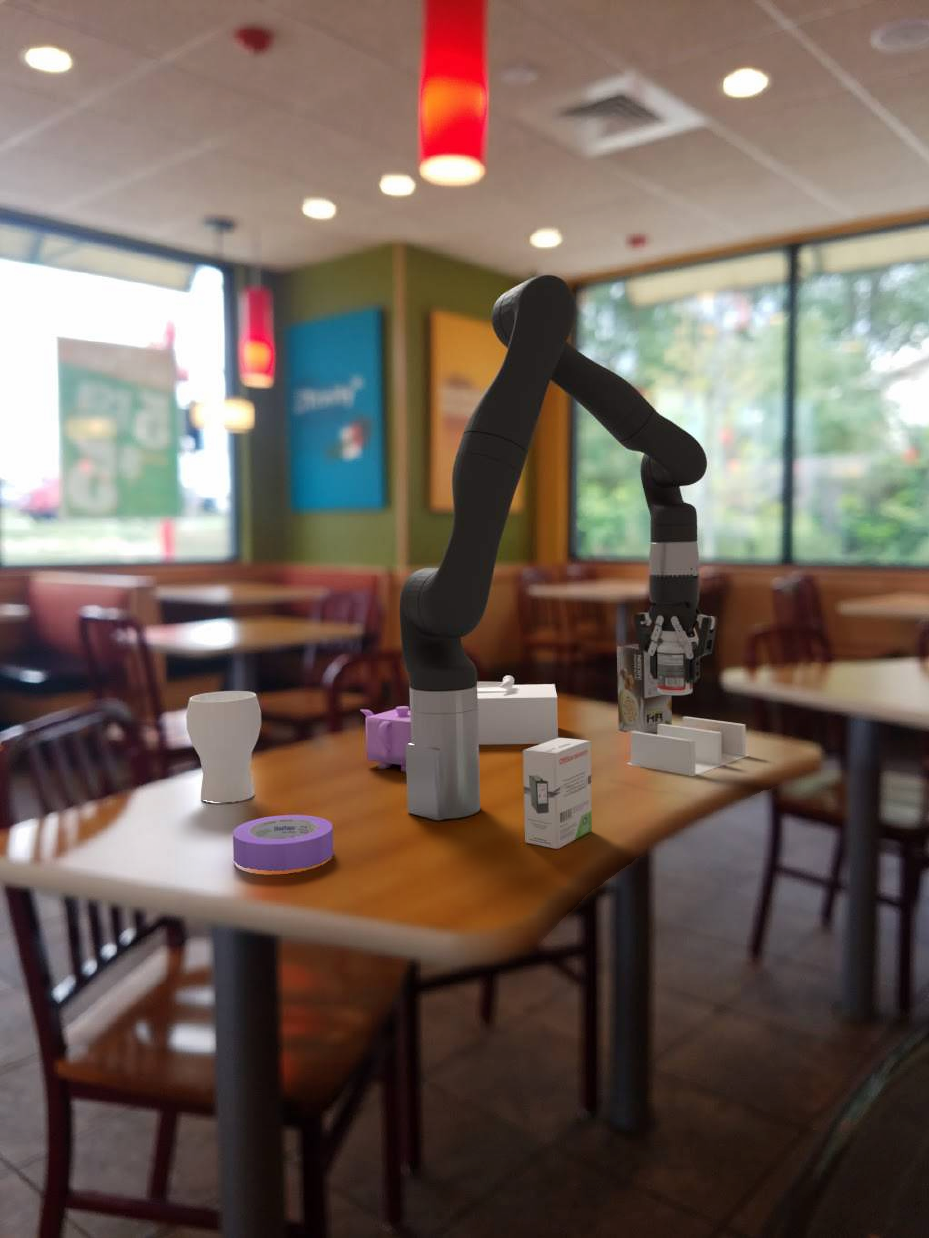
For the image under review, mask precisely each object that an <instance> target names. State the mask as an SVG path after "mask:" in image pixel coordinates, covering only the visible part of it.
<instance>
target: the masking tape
mask: <svg viewBox="0 0 929 1238" xmlns="http://www.w3.org/2000/svg"><path fill="white" fill-rule="evenodd" d="M333 827H334V826H333V823H332V822H331V821H329V820H327V819H326V818H322V817H318V816H313V815H304V814H303V815H301V814H285V815H274V816H273V815H272V816H266V817H261V818H257V819H253V820H249V821H247V822H244V823H242V824H239V825H238V826H237V827H235V828H234V829H233V831H232V845H233V846H232V847H233V848H232V849H233V850H232V851H233V854H232V855H233V862H234V861H235V862H236V863H237V864H238V865H240V866H242V867H244V868H250V869H257V870H265V871H266V870H267V871H272V870H273V871H280V870H281V871H285V870H293V869H299V868H308V867H312V866H315V865H318V864H321V863H322V862H324V861H326V860H328V859H329V858H331V857H332V855H333V856H334V828H333ZM332 858H333V857H332Z"/></svg>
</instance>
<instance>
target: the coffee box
mask: <svg viewBox="0 0 929 1238" xmlns="http://www.w3.org/2000/svg"><path fill="white" fill-rule="evenodd" d="M616 658H617V659H616V662H617V664H616V665H617V669H616V670H617V710H618V712H617V713H618V715H617V716H618V730H619V731H623V732H626V733H628V732H632V731H636V732H643V733H649V734H650V733H654V732H655V733H656V732H658V730H657V725H658V724H667V725H673V722H672V721H673V718H672V717H673V716H672V715H673V713H672V710H673V709H672V695H665V694H661V693H659V692H658V683H657V680H655V679H653V677H652V675H651V673H650V655H649V654H648V653H647V652H645V651H641V650H640V649H639V647H638V643H633V644H625V645H617V646H616Z"/></svg>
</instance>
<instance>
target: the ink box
mask: <svg viewBox="0 0 929 1238" xmlns="http://www.w3.org/2000/svg"><path fill="white" fill-rule="evenodd" d="M591 743H592V742H591V741H590V740H586V739H579V738H578V739H577V738H568V737H567V738H566V737H558V738H557V739H554V740H551V741H548V742H545V743H542V744H538V745H537V744H536V745H534V746H532V747H528V748H525V749H524V750H522V766H523V767H522V768H523V771H522V772H523V773H522V774H523V809H524V810H523V813H524V814H523V816H524V842H525V843H526V844H532V845H536V846H542V847H545V848H550V849H557V850H559V849H560V848H563V847H564V846H566V845H568V844H570V843H572V842H573V841H575V840H577V839H579V838H581V837H582V836H584V835H585V836H586V835H587V834H588V833H590V832H591V831H592V827H593V825H592V823H593V821H592V751H591V750H592V748H591V747H592V746H591Z"/></svg>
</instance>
